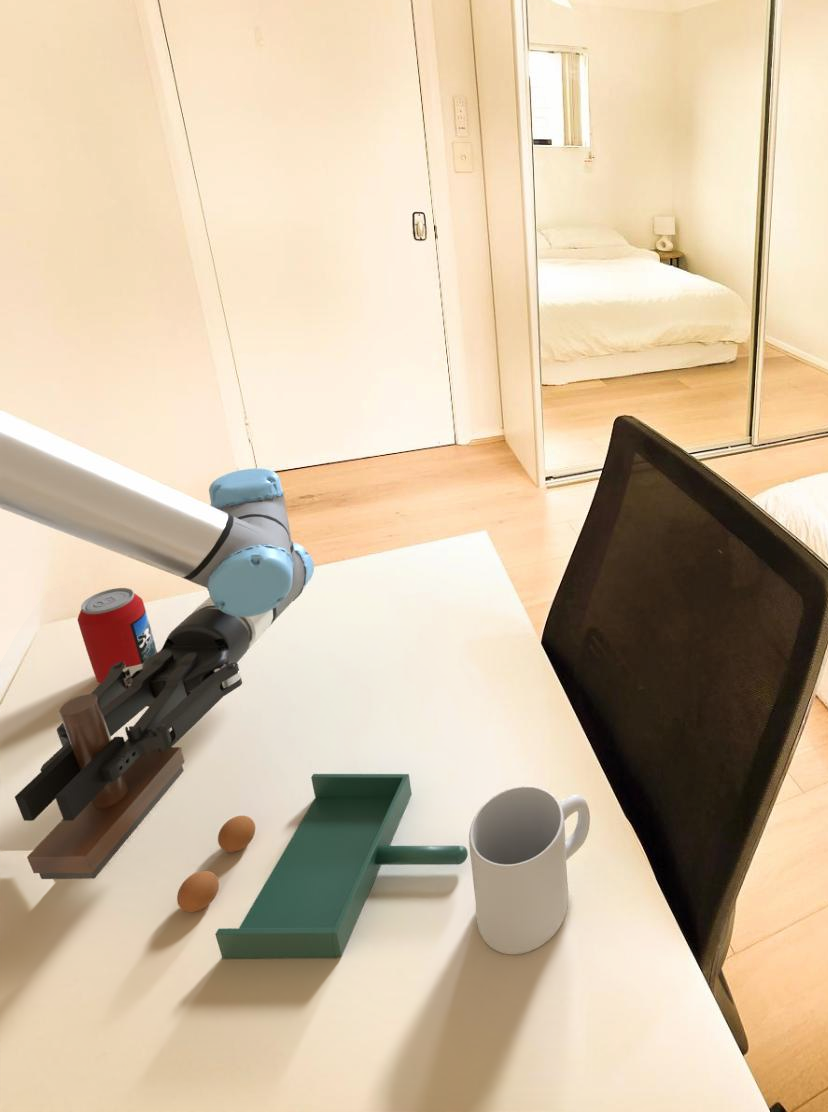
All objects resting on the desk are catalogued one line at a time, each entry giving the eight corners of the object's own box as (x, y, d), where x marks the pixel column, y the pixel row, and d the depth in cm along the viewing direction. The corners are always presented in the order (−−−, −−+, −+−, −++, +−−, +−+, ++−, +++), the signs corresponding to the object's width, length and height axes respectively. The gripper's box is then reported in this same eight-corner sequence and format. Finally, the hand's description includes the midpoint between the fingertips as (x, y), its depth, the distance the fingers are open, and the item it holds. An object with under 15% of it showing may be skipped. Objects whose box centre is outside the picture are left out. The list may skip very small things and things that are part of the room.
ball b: (214, 859, 70) (207, 836, 69) (233, 831, 73) (227, 808, 72) (246, 859, 70) (240, 836, 69) (264, 830, 73) (258, 808, 72)
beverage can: (169, 669, 95) (149, 595, 91) (109, 698, 90) (85, 621, 86) (147, 651, 99) (127, 579, 95) (89, 678, 93) (65, 603, 89)
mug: (507, 978, 60) (499, 888, 57) (460, 907, 66) (450, 822, 62) (614, 885, 69) (613, 801, 65) (564, 829, 74) (561, 750, 70)
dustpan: (222, 959, 61) (214, 934, 60) (317, 795, 77) (313, 773, 76) (441, 957, 62) (437, 932, 61) (490, 795, 78) (488, 773, 77)
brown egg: (173, 920, 64) (165, 896, 63) (195, 886, 67) (188, 862, 66) (208, 920, 64) (200, 895, 63) (229, 886, 67) (222, 862, 66)
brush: (36, 881, 60) (-15, 758, 56) (138, 769, 72) (102, 659, 67) (95, 881, 60) (49, 758, 56) (187, 769, 72) (155, 659, 67)
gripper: (293, 659, 82) (149, 840, 60) (158, 658, 81) (-37, 841, 59) (282, 606, 79) (127, 774, 57) (143, 605, 79) (-67, 775, 57)
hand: (44, 808), depth 58 cm, fingers closed on brush, 3 cm apart
